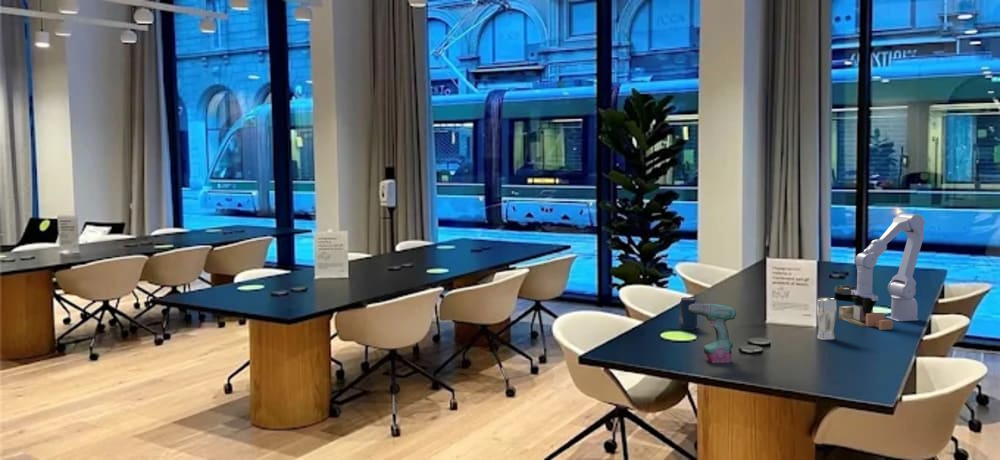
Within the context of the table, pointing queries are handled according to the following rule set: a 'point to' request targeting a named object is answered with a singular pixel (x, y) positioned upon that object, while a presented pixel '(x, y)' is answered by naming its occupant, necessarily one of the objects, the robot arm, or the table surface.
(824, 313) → the beer glass
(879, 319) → the brown stepped block
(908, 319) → the robot arm
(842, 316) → the vise body
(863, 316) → the block
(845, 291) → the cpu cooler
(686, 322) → the soda can
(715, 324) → the power drill
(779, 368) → the table surface
